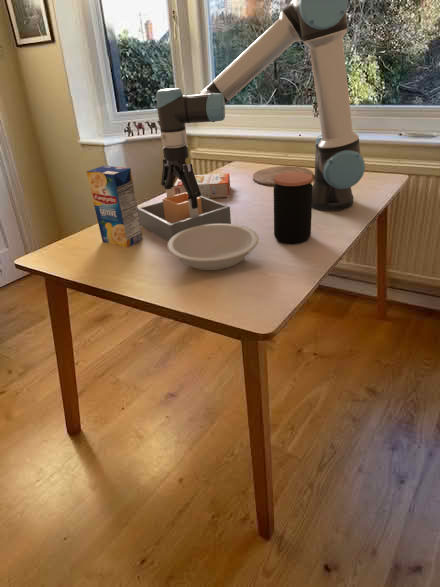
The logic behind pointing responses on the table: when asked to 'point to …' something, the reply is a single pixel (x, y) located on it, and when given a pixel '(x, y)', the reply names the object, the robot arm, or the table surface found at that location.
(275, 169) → the trivet
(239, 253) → the soup bowl
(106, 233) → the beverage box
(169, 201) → the orange crate
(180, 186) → the cracker box
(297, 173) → the coffee jar
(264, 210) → the table surface
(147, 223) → the charcoal crate
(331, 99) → the robot arm
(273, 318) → the table surface
